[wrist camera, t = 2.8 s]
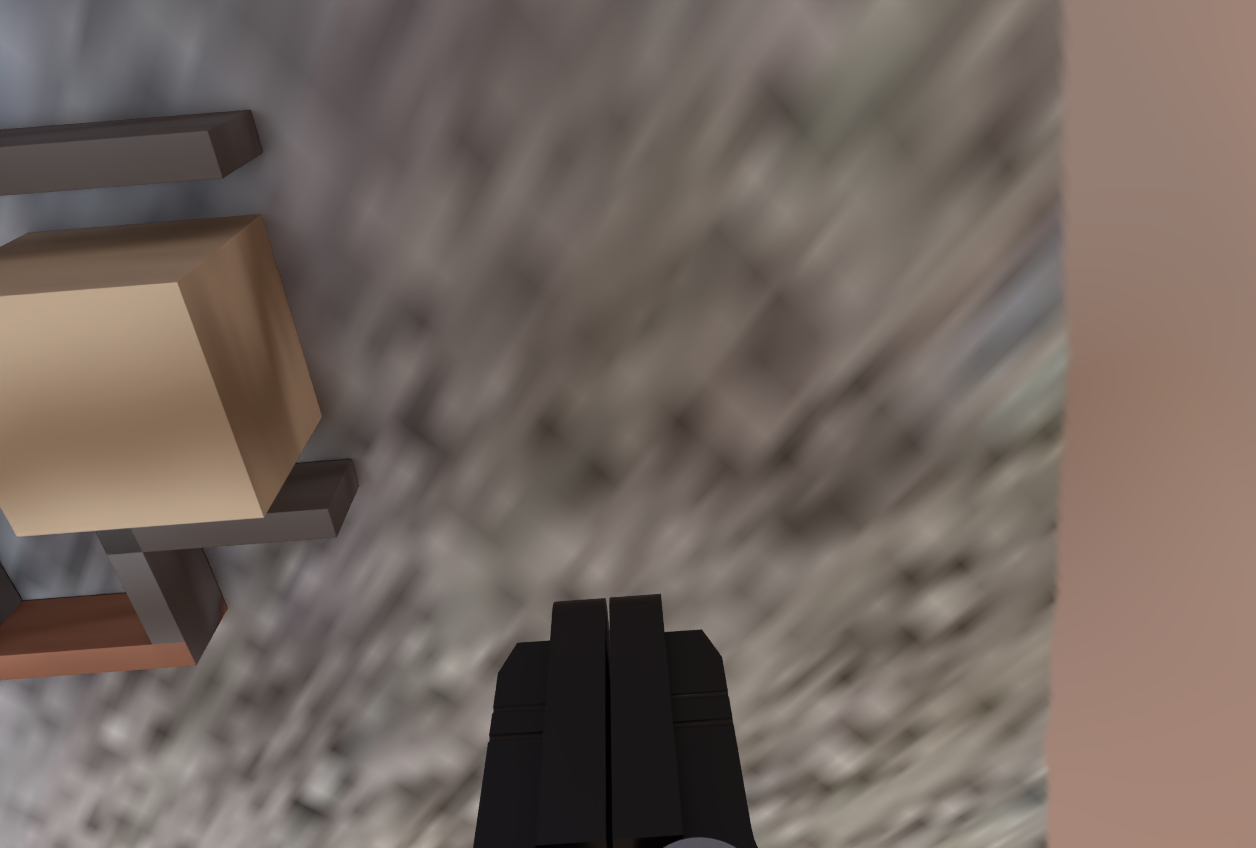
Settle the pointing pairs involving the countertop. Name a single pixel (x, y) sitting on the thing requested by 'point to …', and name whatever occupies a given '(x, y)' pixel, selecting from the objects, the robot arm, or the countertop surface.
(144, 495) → the maple block
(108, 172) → the channel
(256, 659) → the countertop surface
